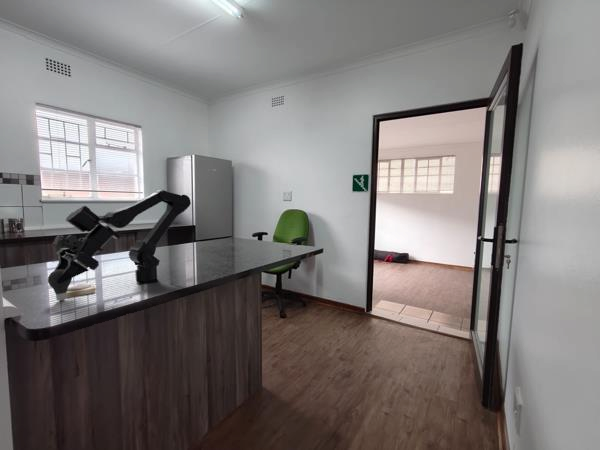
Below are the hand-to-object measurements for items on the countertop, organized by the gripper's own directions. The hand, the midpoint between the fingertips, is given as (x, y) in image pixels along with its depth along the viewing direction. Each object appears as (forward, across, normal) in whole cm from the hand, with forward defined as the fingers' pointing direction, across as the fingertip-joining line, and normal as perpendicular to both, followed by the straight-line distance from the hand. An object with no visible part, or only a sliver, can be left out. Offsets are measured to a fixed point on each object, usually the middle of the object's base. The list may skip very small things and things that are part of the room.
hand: (54, 281), depth 84 cm
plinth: (-1, -7, +10) cm, 12 cm away
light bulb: (+4, 0, +6) cm, 7 cm away
